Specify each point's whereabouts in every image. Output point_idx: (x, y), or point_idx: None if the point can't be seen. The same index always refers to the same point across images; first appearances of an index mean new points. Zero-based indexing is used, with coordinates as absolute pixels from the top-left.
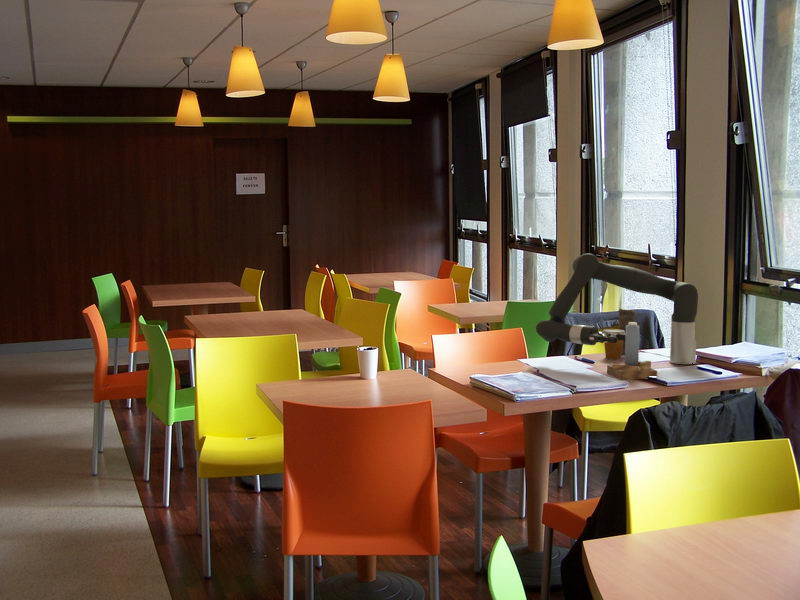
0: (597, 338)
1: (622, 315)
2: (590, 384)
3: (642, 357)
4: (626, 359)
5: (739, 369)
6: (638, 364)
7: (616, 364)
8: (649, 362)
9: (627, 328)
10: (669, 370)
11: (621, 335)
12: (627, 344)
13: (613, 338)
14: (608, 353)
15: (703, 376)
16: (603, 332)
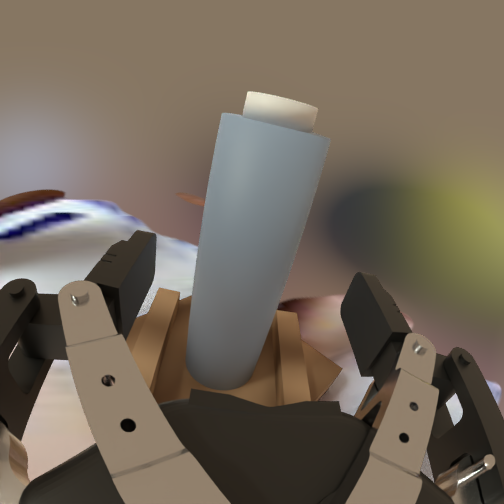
0: (466, 423)
1: None
2: (457, 410)
3: None
4: (262, 347)
5: (24, 198)
6: (168, 334)
7: (307, 396)
8: None
9: (325, 156)
10: (42, 284)
11: (138, 269)
12: (289, 270)
13: (389, 295)
14: None
15: (117, 231)
16: (217, 492)
